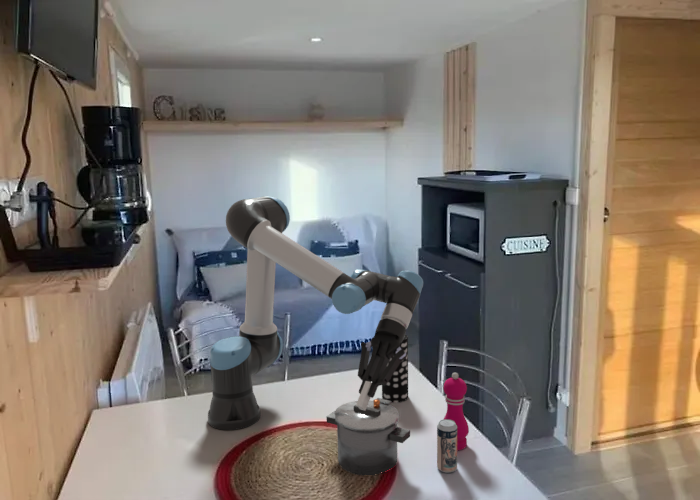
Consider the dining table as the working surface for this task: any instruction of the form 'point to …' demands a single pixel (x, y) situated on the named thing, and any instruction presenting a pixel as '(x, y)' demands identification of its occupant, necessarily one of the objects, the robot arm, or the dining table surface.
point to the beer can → (447, 446)
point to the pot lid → (367, 415)
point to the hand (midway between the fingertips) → (360, 407)
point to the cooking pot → (368, 448)
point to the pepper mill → (456, 407)
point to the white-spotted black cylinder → (398, 379)
